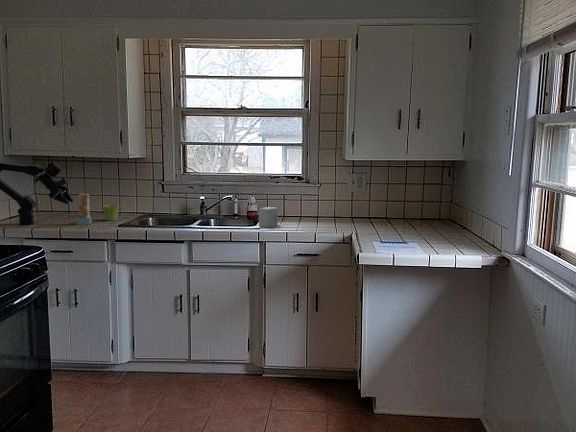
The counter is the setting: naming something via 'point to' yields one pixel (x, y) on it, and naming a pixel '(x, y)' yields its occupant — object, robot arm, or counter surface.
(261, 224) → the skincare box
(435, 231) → the counter surface
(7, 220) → the counter surface
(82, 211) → the oak pillar
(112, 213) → the plant pot
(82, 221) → the base block
